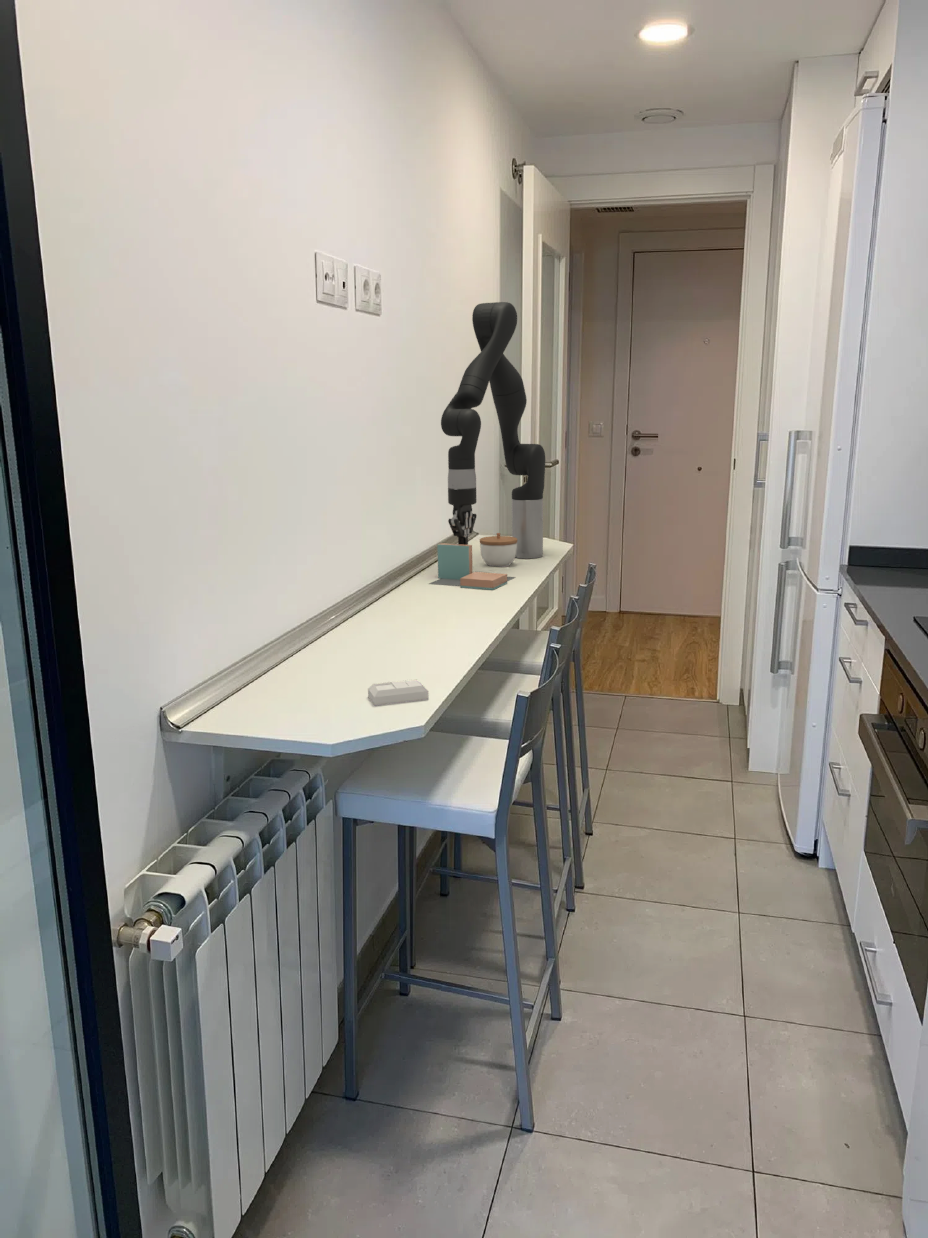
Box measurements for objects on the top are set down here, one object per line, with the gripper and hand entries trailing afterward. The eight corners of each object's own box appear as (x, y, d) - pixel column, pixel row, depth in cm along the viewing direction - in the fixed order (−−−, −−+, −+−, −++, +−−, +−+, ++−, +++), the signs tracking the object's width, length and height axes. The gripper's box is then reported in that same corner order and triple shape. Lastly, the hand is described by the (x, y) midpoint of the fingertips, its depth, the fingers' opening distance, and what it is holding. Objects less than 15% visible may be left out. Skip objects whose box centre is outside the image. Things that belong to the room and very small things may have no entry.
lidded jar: (518, 568, 264) (518, 535, 262) (479, 569, 264) (479, 536, 262) (516, 562, 275) (516, 530, 272) (480, 562, 275) (479, 530, 273)
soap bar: (428, 701, 154) (428, 686, 154) (374, 707, 151) (374, 692, 151) (420, 692, 159) (420, 677, 158) (368, 698, 156) (367, 683, 155)
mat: (455, 574, 258) (455, 572, 258) (516, 578, 250) (516, 577, 250) (427, 585, 244) (427, 583, 244) (491, 590, 236) (491, 588, 236)
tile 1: (442, 576, 253) (441, 543, 251) (472, 578, 249) (472, 544, 247) (438, 578, 251) (437, 544, 249) (468, 580, 247) (468, 546, 245)
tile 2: (475, 571, 246) (460, 578, 238) (507, 574, 242) (492, 580, 234) (475, 580, 246) (460, 587, 239) (507, 583, 243) (493, 590, 235)
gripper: (460, 483, 257) (461, 546, 261) (438, 488, 245) (439, 554, 249) (485, 484, 254) (486, 548, 258) (464, 488, 242) (465, 555, 246)
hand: (463, 550), depth 253 cm, fingers closed
